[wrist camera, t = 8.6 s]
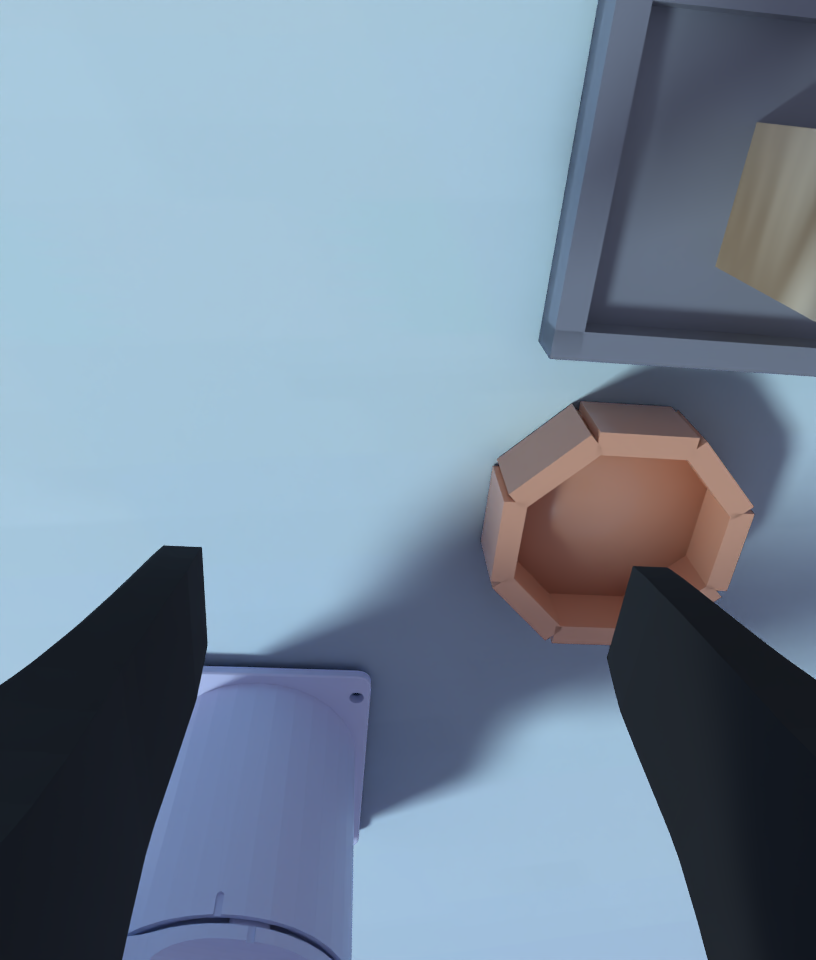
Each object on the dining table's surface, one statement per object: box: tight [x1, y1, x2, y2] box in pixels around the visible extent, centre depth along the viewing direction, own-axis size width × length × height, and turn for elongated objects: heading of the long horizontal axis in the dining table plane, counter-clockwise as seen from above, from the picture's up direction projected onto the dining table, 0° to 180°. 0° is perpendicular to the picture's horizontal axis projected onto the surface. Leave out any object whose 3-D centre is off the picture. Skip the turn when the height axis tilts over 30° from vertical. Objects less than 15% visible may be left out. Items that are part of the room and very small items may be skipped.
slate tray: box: [539, 0, 816, 377], centre depth 19 cm, size 9×12×2 cm
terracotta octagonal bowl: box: [481, 401, 755, 645], centre depth 23 cm, size 8×8×2 cm
